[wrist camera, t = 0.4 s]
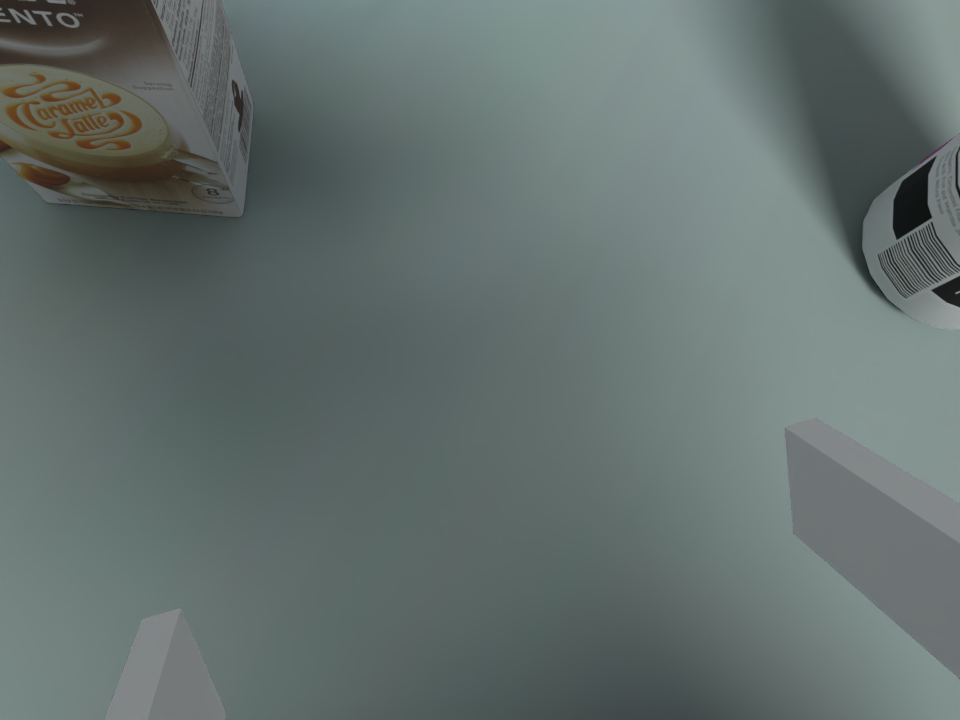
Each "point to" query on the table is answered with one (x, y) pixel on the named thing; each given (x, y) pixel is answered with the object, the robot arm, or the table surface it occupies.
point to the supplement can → (919, 239)
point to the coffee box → (125, 104)
